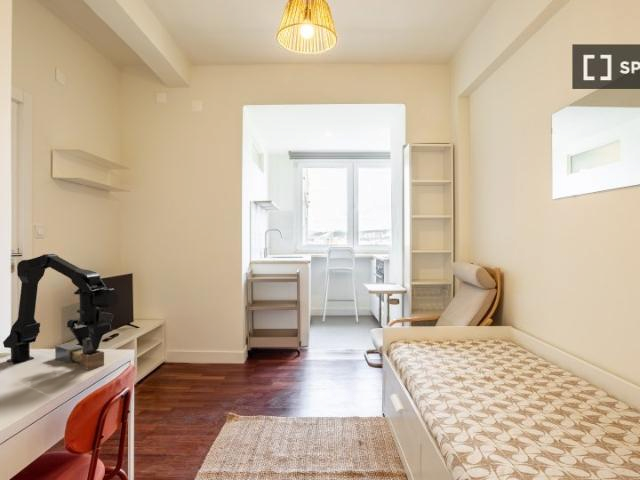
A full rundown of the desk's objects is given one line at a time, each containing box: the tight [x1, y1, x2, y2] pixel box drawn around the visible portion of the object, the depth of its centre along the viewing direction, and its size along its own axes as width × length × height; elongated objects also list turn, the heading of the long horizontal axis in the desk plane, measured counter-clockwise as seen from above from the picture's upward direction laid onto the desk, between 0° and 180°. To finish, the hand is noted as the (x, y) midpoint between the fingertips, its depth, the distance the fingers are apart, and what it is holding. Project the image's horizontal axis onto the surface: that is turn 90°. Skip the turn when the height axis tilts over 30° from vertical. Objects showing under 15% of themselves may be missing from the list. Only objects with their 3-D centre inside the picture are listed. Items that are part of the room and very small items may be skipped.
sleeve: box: [54, 342, 83, 364], centre depth 143 cm, size 10×5×5 cm, turn 61°
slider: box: [71, 336, 96, 363], centre depth 138 cm, size 15×3×9 cm, turn 61°
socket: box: [79, 349, 105, 371], centre depth 135 cm, size 6×5×5 cm
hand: (89, 347), depth 136 cm, fingers open, 9 cm apart
